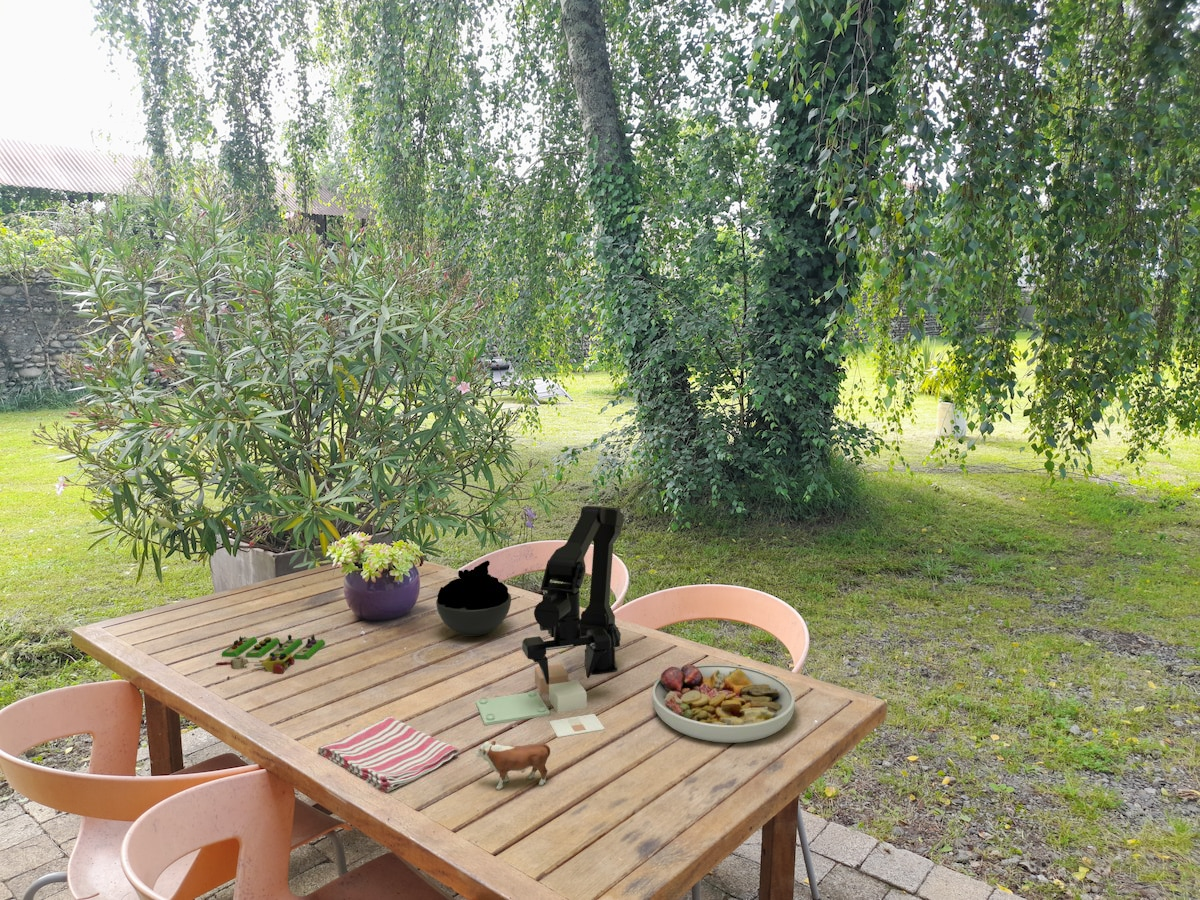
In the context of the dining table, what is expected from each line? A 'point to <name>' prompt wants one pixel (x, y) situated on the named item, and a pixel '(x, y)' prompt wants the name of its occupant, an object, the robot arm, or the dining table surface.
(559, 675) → the terracotta brick
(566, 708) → the cream brick
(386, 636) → the dining table surface
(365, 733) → the dish towel
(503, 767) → the bull figurine
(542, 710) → the plate
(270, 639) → the toy garden set
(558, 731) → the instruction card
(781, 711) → the bowl
